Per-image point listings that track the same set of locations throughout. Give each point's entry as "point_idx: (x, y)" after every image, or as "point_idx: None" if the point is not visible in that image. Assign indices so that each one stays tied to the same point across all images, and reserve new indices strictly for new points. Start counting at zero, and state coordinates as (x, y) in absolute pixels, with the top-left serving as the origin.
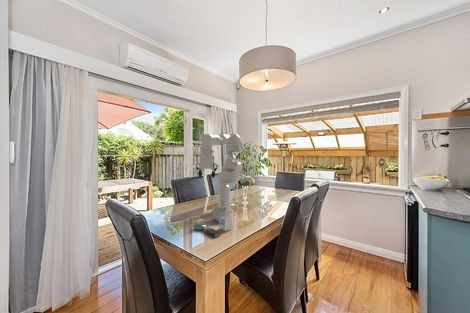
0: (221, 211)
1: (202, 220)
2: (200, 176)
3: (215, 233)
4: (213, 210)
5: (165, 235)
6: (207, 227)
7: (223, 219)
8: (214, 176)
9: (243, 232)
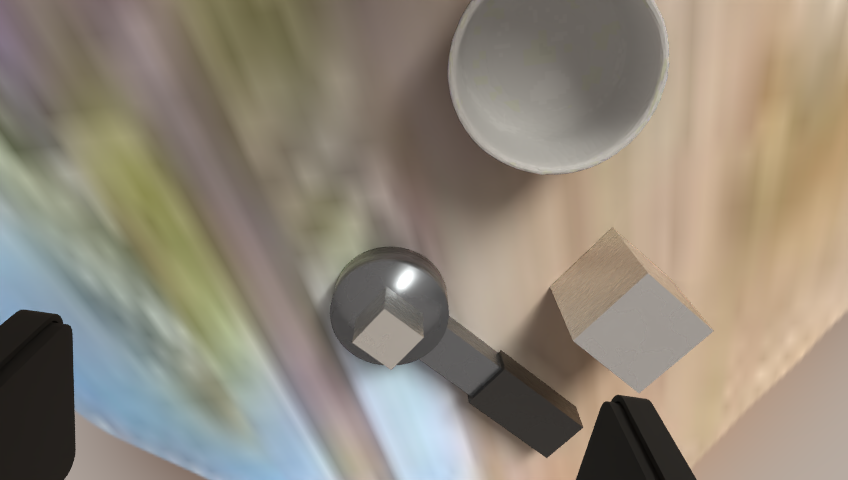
0: (591, 166)
1: (411, 349)
2: (70, 423)
3: (553, 451)
4: (461, 40)
5: (175, 437)
6: (463, 343)
7: (626, 379)
8: (652, 405)
9: (760, 330)
